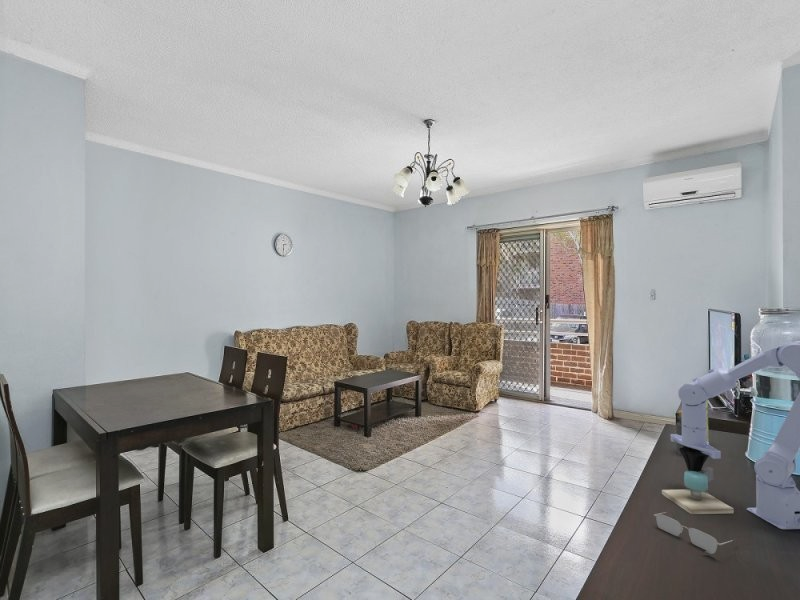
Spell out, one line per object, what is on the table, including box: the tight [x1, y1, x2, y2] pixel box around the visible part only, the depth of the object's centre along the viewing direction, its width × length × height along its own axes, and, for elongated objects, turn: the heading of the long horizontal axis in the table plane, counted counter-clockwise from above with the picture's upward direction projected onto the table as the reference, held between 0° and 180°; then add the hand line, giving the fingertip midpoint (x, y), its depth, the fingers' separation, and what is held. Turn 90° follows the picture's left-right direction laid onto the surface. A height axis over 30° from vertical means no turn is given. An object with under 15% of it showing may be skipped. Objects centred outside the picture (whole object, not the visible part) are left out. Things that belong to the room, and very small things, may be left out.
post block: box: [661, 488, 735, 515], centre depth 110 cm, size 11×11×4 cm
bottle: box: [675, 409, 684, 457], centre depth 145 cm, size 6×6×15 cm
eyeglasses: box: [653, 511, 739, 555], centre depth 95 cm, size 14×8×4 cm, turn 27°
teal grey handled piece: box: [683, 466, 714, 492], centre depth 112 cm, size 12×5×3 cm, turn 123°
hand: (694, 475), depth 116 cm, fingers closed
